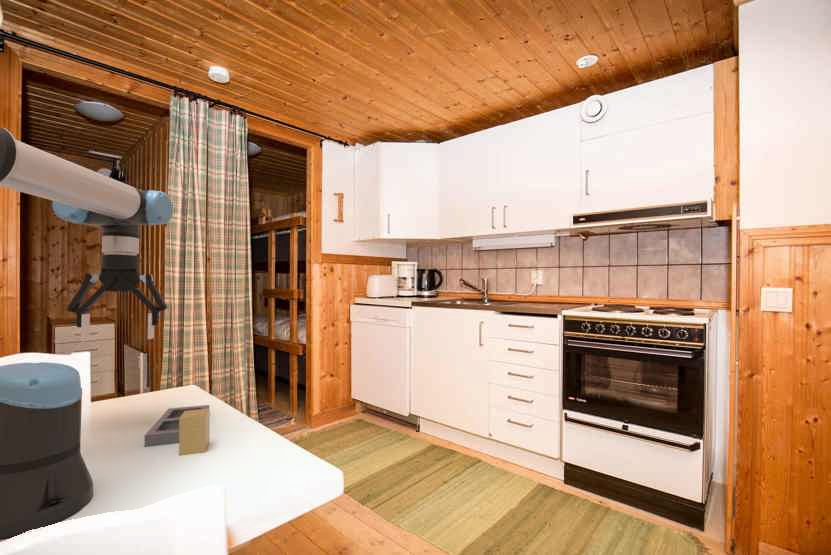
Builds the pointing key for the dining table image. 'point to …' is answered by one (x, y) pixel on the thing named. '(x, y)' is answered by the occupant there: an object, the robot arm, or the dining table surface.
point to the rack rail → (168, 427)
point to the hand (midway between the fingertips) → (118, 339)
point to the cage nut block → (194, 432)
